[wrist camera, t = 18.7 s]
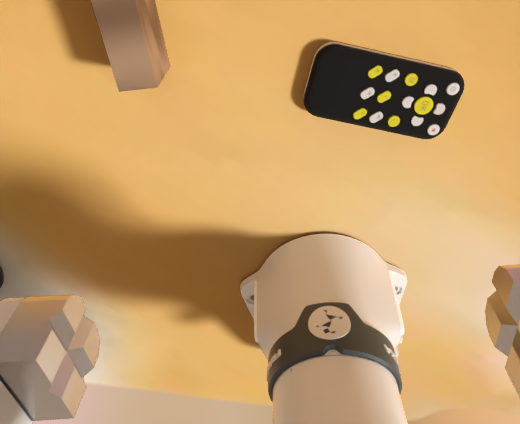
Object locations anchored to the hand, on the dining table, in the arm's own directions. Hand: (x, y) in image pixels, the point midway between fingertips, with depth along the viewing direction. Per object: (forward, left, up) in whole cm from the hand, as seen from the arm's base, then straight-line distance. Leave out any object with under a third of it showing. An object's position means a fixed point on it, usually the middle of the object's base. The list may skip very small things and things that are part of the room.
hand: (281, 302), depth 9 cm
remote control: (-8, -8, -32) cm, 34 cm away
